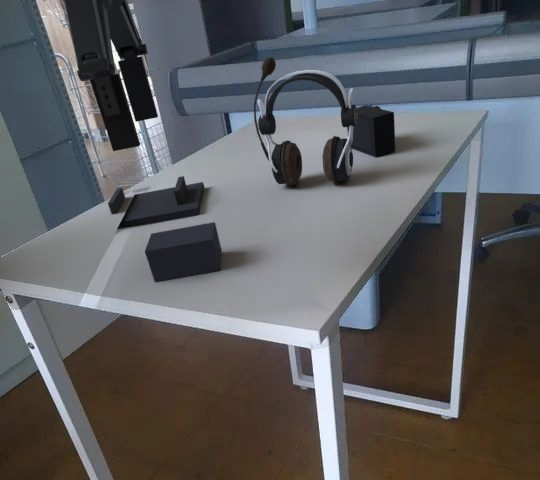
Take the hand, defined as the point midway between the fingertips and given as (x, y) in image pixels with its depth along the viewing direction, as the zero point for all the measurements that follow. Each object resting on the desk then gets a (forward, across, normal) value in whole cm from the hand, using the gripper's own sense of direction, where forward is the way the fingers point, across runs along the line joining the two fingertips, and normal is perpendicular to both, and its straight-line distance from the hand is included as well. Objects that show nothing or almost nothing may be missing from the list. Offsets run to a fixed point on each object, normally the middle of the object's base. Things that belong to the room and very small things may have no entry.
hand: (137, 132), depth 61 cm
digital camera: (+19, +44, -34) cm, 58 cm away
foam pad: (+19, +4, -1) cm, 19 cm away
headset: (+19, +30, -21) cm, 41 cm away
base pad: (+19, +32, +8) cm, 38 cm away
